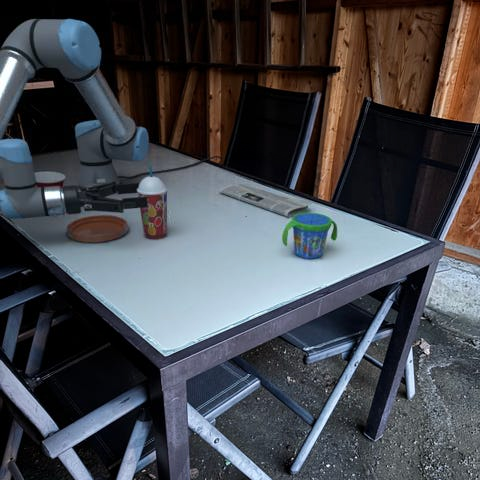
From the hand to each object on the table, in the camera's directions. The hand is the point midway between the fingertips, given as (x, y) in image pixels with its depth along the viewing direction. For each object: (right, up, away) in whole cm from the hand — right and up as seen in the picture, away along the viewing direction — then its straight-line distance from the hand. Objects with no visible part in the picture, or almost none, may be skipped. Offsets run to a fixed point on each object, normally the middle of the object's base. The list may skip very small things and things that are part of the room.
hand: (143, 194), depth 133 cm
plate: (-15, -9, +8) cm, 20 cm away
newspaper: (+36, +7, +36) cm, 51 cm away
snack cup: (+46, -17, -2) cm, 49 cm away
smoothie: (+2, -10, +7) cm, 13 cm away
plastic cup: (-34, 0, +23) cm, 41 cm away
